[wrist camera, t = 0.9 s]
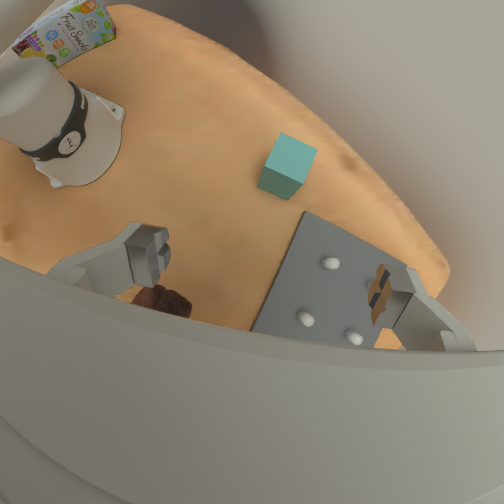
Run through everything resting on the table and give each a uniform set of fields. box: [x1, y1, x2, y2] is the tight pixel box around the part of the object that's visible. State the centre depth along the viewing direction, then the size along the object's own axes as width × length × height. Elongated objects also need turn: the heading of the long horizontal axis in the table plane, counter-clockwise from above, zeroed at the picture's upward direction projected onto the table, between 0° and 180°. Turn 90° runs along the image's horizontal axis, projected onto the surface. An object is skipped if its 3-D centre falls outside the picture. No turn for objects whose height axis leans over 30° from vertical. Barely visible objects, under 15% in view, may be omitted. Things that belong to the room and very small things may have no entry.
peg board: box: [250, 211, 407, 348], centre depth 38 cm, size 20×20×6 cm
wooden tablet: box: [131, 284, 192, 318], centre depth 39 cm, size 26×2×10 cm
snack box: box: [12, 0, 116, 68], centre depth 31 cm, size 21×6×15 cm, turn 107°
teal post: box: [257, 132, 317, 201], centre depth 36 cm, size 5×5×10 cm
